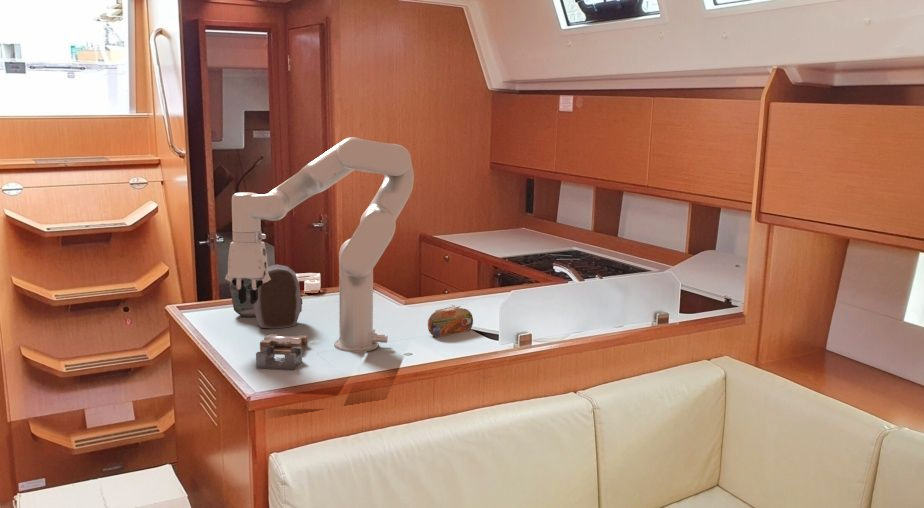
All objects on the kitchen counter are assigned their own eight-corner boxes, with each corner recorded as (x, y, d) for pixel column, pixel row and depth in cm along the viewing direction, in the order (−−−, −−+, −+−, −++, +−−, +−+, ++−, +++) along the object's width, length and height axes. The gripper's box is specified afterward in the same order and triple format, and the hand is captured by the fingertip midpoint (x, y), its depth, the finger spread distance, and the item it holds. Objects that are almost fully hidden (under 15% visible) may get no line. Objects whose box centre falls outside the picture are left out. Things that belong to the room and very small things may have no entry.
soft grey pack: (253, 332, 230) (252, 267, 227) (252, 325, 238) (250, 262, 235) (304, 329, 235) (303, 265, 232) (300, 322, 243) (300, 260, 239)
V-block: (302, 361, 202) (302, 347, 202) (294, 370, 195) (294, 355, 195) (265, 359, 203) (265, 345, 202) (256, 368, 196) (255, 353, 195)
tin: (431, 340, 226) (431, 313, 224) (426, 338, 228) (426, 310, 227) (473, 334, 234) (474, 307, 232) (467, 331, 236) (468, 305, 235)
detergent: (270, 313, 253) (269, 239, 249) (273, 318, 247) (272, 242, 243) (229, 316, 248) (227, 240, 244) (231, 321, 242) (229, 243, 238)
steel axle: (302, 344, 214) (301, 335, 213) (299, 349, 211) (298, 340, 210) (267, 342, 215) (266, 333, 213) (264, 348, 212) (263, 339, 211)
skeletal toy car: (271, 301, 271) (270, 281, 270) (265, 294, 281) (265, 275, 280) (326, 297, 279) (326, 277, 278) (319, 291, 289) (318, 272, 288)
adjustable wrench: (441, 316, 243) (441, 310, 243) (423, 314, 246) (423, 309, 246) (473, 309, 266) (473, 304, 266) (457, 308, 268) (457, 303, 268)
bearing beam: (307, 345, 217) (307, 335, 216) (299, 354, 209) (299, 343, 208) (269, 344, 218) (269, 334, 217) (260, 352, 209) (259, 342, 209)
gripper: (279, 236, 212) (280, 300, 215) (223, 234, 213) (225, 298, 216) (271, 240, 204) (272, 307, 207) (213, 238, 205) (215, 304, 208)
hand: (248, 302), depth 212 cm, fingers closed
